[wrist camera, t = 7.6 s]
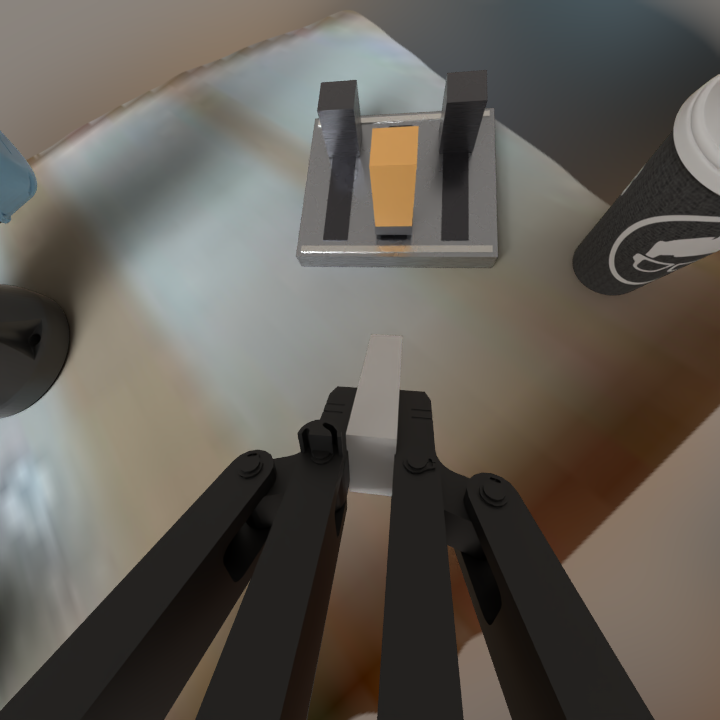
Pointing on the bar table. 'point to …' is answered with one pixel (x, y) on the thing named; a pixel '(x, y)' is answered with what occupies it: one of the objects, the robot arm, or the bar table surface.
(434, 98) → the bar table surface
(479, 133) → the panel
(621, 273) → the coffee cup
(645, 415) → the bar table surface
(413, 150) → the breaker handle
